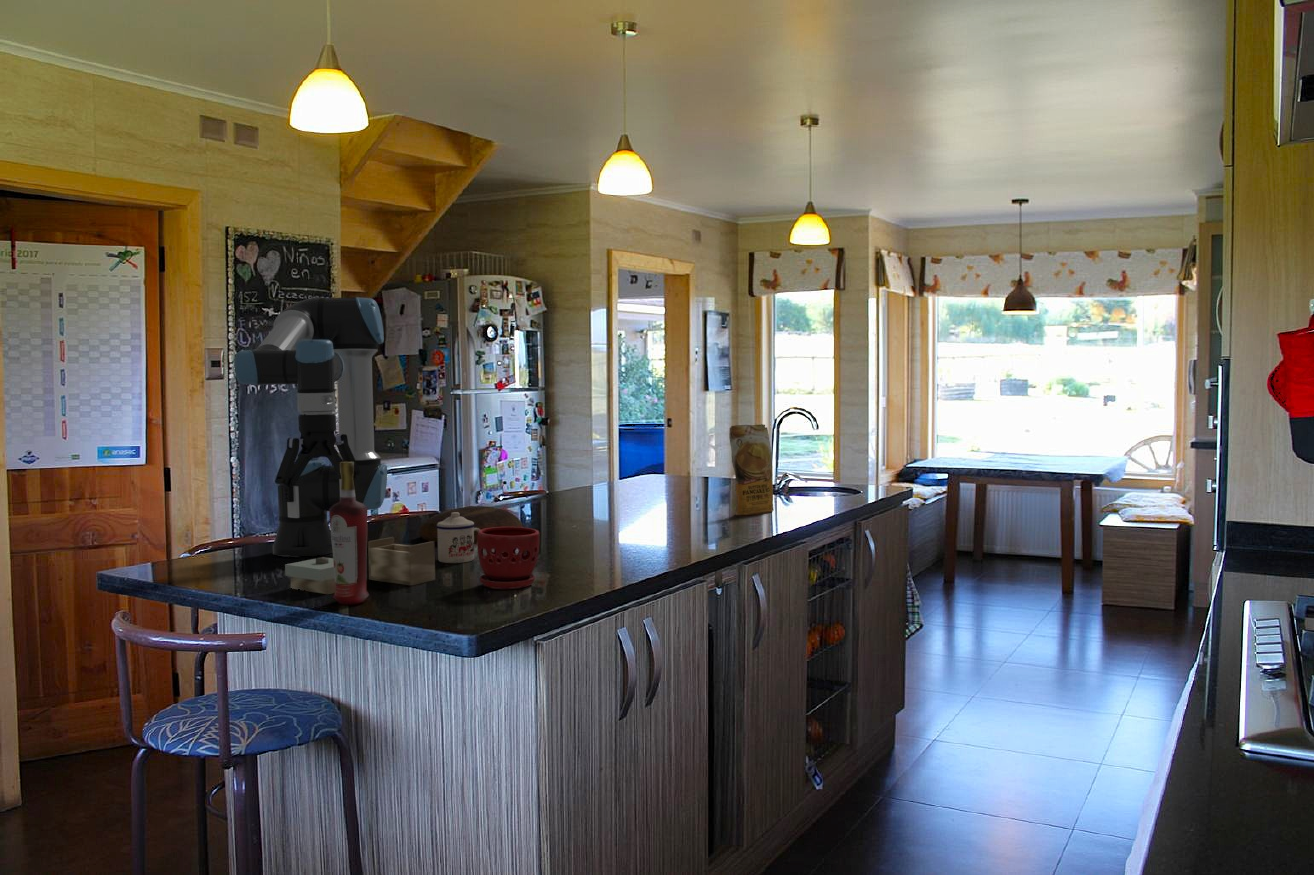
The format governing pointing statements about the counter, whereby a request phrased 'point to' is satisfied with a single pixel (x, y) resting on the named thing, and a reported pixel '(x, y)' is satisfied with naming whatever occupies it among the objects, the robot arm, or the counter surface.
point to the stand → (313, 585)
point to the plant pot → (508, 556)
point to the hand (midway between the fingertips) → (320, 513)
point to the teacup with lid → (456, 539)
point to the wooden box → (401, 562)
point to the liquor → (349, 541)
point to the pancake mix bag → (752, 468)
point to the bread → (477, 514)
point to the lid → (312, 569)
